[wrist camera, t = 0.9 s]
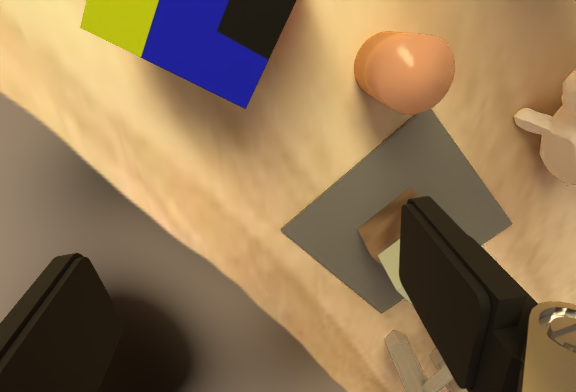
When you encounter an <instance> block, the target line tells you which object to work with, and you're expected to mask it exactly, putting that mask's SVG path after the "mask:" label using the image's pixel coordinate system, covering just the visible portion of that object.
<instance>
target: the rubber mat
mask: <svg viewBox="0 0 576 392" xmlns="http://www.w3.org/2000/svg"><path fill="white" fill-rule="evenodd" d="M409 187H411V188H412V189H413V190H414V191H415V192H416V193H417V194H418V195H419V197H423V196H429V197H431V198H432V199H433V200H434V201H435V202H436V203H437V204H438V205H439V206H440V207H441V208H442V209H443V210H444V211H445V212H446V213H447V214H448V215H449V216H450V217H451V218H452V220H453V221H454V222H455V223H456V224H457V225H458V226H459V227H460V228H461V229H462V230H463V231H464V232H465V233H466V234H467V235H469V236H471V237H472V238H473V239H474V240H475V241H476V242H477V243H478V244H479V245H480V246H481V245H482V244H484V243H485V242H487V241H488V240H490V239H491V238H493V237H494V236H495V235H497V234H498V233H500V232H501V231H503V230H504V229H506V228H507V227H509V226H510V225H512V222H511V221H510V220H509V218H508V217H507V215H506V214H505V213H504V211H503V210H502V208H501V207H500V205H499V204H498V203H497V201H496V200H495V198H494V197H493V196H492V194H491V193H490V191H489V190H488V189H487V187H486V186H485V184H484V183H483V182H482V180H481V179H480V177H479V176H478V174H477V173H476V172H475V170H474V169H473V167H472V166H471V165H470V163H469V162H468V160H467V159H466V158H465V156H464V155H463V153H462V152H461V151H460V149H459V148H458V146H457V145H456V143H455V142H454V141H453V139H452V138H451V136H450V135H449V134H448V132H447V131H446V129H445V128H444V127H443V125H442V124H441V122H440V121H439V120H438V118H437V117H436V115H435V114H434V112H433V111H432V110H431V109H429V110H427V111H425V112H422V113H419V114H415V115H414V116H413V117H412V118H410V119H409V120H408V121H407V122H406V123H405V124H403V125H402V126H401V127H400V128H399V129H398V130H396V131H395V132H394V133H393V134H392V135H391V136H389V137H388V138H387V139H386V140H385V141H383V142H382V143H381V144H380V145H379V146H378V147H376V148H375V149H374V150H373V151H372V152H371V153H369V154H368V155H367V156H366V157H365V158H364V159H362V160H361V161H360V162H359V163H358V164H357V165H355V166H354V167H353V168H352V169H351V170H349V171H348V172H347V173H346V174H345V175H344V176H342V177H341V178H340V179H339V180H338V181H337V182H335V183H334V184H333V185H332V186H331V187H330V188H328V189H327V190H326V191H325V192H324V193H323V194H321V195H320V196H319V197H318V198H317V199H315V200H314V201H313V202H312V203H311V204H310V205H308V206H307V207H306V208H305V209H304V210H303V211H301V212H300V213H299V214H298V215H297V216H296V217H294V218H293V219H292V220H291V221H290V222H289V223H287V224H286V225H285V226H284V227H283V228H281V231H282V232H283V233H284V234H285V235H287V236H288V237H289V238H290V239H292V240H293V241H294V242H295V243H296V244H298V245H299V246H300V247H301V248H302V249H304V250H305V251H306V252H307V253H309V254H310V255H311V256H312V257H313V258H315V259H316V260H317V261H318V262H320V263H321V264H322V265H323V266H324V267H326V268H327V269H328V270H329V271H330V272H332V273H333V274H334V275H335V276H337V277H338V278H339V279H340V280H341V281H343V282H344V283H345V284H346V285H348V286H349V287H350V288H351V289H352V290H354V291H355V292H356V293H357V294H358V295H360V296H361V297H362V298H363V299H365V300H366V301H367V302H368V303H369V304H371V305H372V306H373V307H374V308H375V309H377V310H378V311H379V312H380V313H383V312H385V311H386V310H387V309H389V308H390V307H392V306H393V305H395V304H396V303H398V302H399V301H401V300H402V299H404V297H403V296H402V295H401V294H400V293H399V292H398V291H397V290H396V289H395V287H394V285H393V283H392V281H391V279H390V278H389V276H388V274H387V272H386V270H385V268H384V267H383V266H382V265H380V264H379V263H378V262H377V261H376V260H375V259H374V258H373V257H372V256H371V255H370V253H369V251H368V249H367V247H366V245H365V243H364V241H363V239H362V237H361V235H360V233H359V231H358V229H357V228H359V227H360V226H361V225H362V224H364V223H365V222H366V221H367V220H369V219H370V218H371V217H373V216H374V215H375V214H376V213H378V212H379V211H380V210H381V209H383V208H384V207H385V206H387V205H388V204H389V203H390V202H392V201H393V200H394V199H395V198H397V197H398V196H399V195H400V194H402V193H403V192H404V191H406V190H407V189H408V188H409Z"/></svg>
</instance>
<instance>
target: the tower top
mask: <svg viewBox="0 0 576 392" xmlns="http://www.w3.org/2000/svg"><path fill="white" fill-rule="evenodd" d="M399 254H400V239H399V240H398V241H396V242H395V243H394V244H392V245H391V246H390V247H388V248H387V249H385V250H384V251H383V252H381V253H380V254H379V255H378V257H379V259H380V261H381V263H382V265H383V266H384V268H385V270H386V272H387V274H388V276H389V278H390V279H391V281H392V283H393V285H394V287H395V289H396V290H397V291H398V292H399V293H400V294H401V295H402V296H403V297H404V298H405V299H407V300H408V301H409V302H410V303H411V304H412V302H411V301H410V299H409V297H408V295H407V293H406V292H405V290H404V288H403V286H402V284H401V282H400V278H399ZM412 305H413V304H412Z"/></svg>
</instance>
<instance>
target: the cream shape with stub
mask: <svg viewBox="0 0 576 392" xmlns="http://www.w3.org/2000/svg"><path fill="white" fill-rule="evenodd" d="M562 88H563V95H562V96H561V99H562V103H563V105H562V106H561V107H560V108H559V109H558V111H557V112H556V113H555V114H554V116H552V115H548V114H544V113H540V112H536V111H534V110H533V109H530V108H524V109H521V110H519V111H518V112H517V113H516V114H515V115H514V121H515V124H516V125H518V126H519V127H520V128H522V129H524V130H527V131H529V132H532V133H535V134H540V135H542V138H541V146H540V148H541V150H540V152H539V153H540V156H541V159H542V160H543V163H544V165H545V166H546V167H547V169H548V171H549V172H551V173H552V174H553V176H555V177H557V178H559V179H560V180H561V181H563V183H566V184H567V186H568V185H569V184H574V185H575V184H576V69H575V70H574V71H573V72H572V73H571V74H570V75H569V76H568V77H567V78H566V79H565V81H564V82H563V85H562Z"/></svg>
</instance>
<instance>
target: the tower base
mask: <svg viewBox="0 0 576 392" xmlns="http://www.w3.org/2000/svg"><path fill="white" fill-rule="evenodd" d="M417 197H419V195H418V194H417V193H416V192H415V191H414V190H413V189H412V188H411V187H409V188H408V189H407V190H406V191H404V192H403V193H402V194H400V195H399V196H398V197H397V198H395V199H394V200H393V201H392V202H390V203H389V204H388V205H387V206H385V207H384V208H383V209H381V210H380V211H379V212H378V213H376V214H375V215H374V216H373V217H371V218H370V219H369V220H367V221H366V222H365V223H364V224H362V225H361V226H360V227H359V228H357V229H358V231H359V233H360V235H361V237H362V239H363V241H364V243H365V245H366V247H367V249H368V251H369V253H370V255H371V256H372V257H373V258H374V259H375V260H376V261H377V262H378V263H379V264H380V265H382V263H381V261H380V259H379V257H378V255H379V254H380V253H381V252H383V251H384V250H385V249H387V248H388V247H390V246H391V245H392V244H394V243H395V242H396V241H398V240H399V239H400V229H401V208H402V205H404V204H407V201H408V199H411V198H417ZM382 266H383V265H382ZM383 267H384V266H383Z"/></svg>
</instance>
